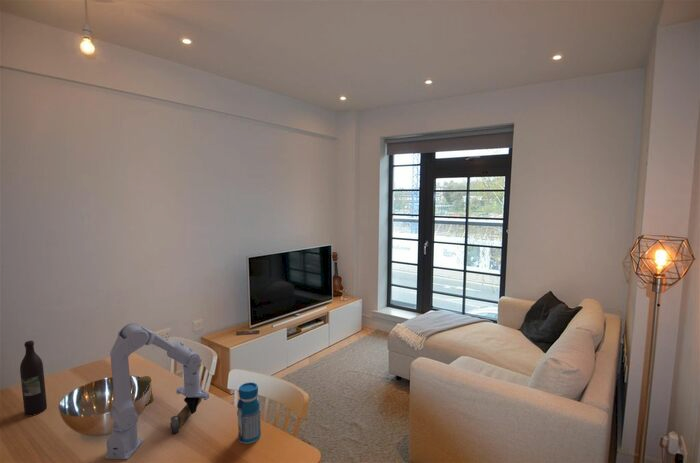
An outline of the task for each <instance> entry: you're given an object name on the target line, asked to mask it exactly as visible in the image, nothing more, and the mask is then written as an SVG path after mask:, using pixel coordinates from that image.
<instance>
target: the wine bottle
mask: <svg viewBox="0 0 700 463" xmlns="http://www.w3.org/2000/svg"><path fill="white" fill-rule="evenodd" d="M34 345H35V341H34V340H27V341H25V342H24V348H25V355H24V357H23V359H22V360H21V363H20V366H19V374H20V383H21V391H22V401H23V403H22V404H23V411H24V412H23V413H24V415H25V416H27V415H32V416H35V415H34V414H36V415H38V414H37V413H39V414H41V413H43V412H45V411H46V410H47V407H48V403H47V393H46V383H45V382H46V381H45V372H44V363H43V360H42V359H41V357H40V356H39V355H38V354H37V352H35V347H34ZM45 409H46V410H45ZM44 410H45V411H44ZM42 411H43V412H42ZM40 412H41V413H40Z"/></svg>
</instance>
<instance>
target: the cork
mask: <svg viewBox="0 0 700 463" xmlns="http://www.w3.org/2000/svg"><path fill="white" fill-rule="evenodd" d="M149 383H150V384H152V377H151V376H148V375H144V376H141V377H140V378H138V379H137V386H138V394H137V396H138V397H140V396H141V395H142V394H143V392H144V391H145V390H146V388H147V386H148V385H149ZM138 397H137V398H138ZM152 403H154V395H153V390H152V389H151V396H150V400H149V402H148V405H150V404H152Z"/></svg>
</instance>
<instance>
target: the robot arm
mask: <svg viewBox="0 0 700 463" xmlns="http://www.w3.org/2000/svg"><path fill="white" fill-rule="evenodd" d="M151 344H153V345H155V346H156V347H158V348H160V349H162V350H164V351H166V356H167V357H168V358H170V359H172V360H174V361H176V362H177V363H179V364H182V365H183V366H182V369H183V370H182V372H183V386H184V387H183V386H179V387H177V388H176V389H175V392H176V395H180V394H181V395H183V396H184V398H183V401H184V403H186V404H187V405H188V407H189V409H190V412H191V415H193V414H194V413H196V412H197V407H198V406H199V404H198V402H199V399H200V398H202V399H203V401H207V400H208V399H210V393H208V392H206V391H204V390H203V389H202V386H201V385H200V384H201V383H200V382H201V381H200V365H201V363H202V358H201V356H200V355H199V354H197V353H196V352H194V351H193V349H192V348H188V347H186V346H185V344H184V343H183V342H178V341H177V342H176V341H175V342H173V343H172V342H170V341H168V340H167V339H166V338H164V337H162V336H161V335H160V334H158V333H156V332H154V331H153V330H151V329H148V328H146V327H145V326H140V325H139V324H137V323H135V322H134V323H127V324H126V325H124V326H123V327H122V328H121V329H120V330H119V331H118V332H117V338H116V340H115V342H114V343H113V346H112V348H111V350H110V354H109V356H110V364H111V365H110V368H111V374H112V375H111V378H112V379H111V380H112V385H113V386H112V388H113V401H112V403H111V404H112V406H111V408H110V412H109V416H110V418H111V419H112V420H113V425H112V431H111V434H110V435H109V437H108V438H107V439H106V453H107V454H106V456H105V457H104V459H107V460H109V459H110V460H111V459H112V460H128V459H129V458H130V457H131V456H132V455H133V454H134V452H135V451H136V450H137V449H138V448H139V447H140V446H141V444H142V443H143V442H144V439H143V438H142V439H141V438H139V436H138V422H139V421H138V420H139V414H138V412H137V411H136V408H135V405H134V402H133V398H132V389H131V377H130V376H131V374H130V366H129V365H130V364H129V362H130V361H129V357H130V356H131V355H132V354H134V352H136V351H138V350H139V349H141V348H143V347H144V346H150V345H151Z"/></svg>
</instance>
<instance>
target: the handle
mask: <svg viewBox="0 0 700 463" xmlns="http://www.w3.org/2000/svg"><path fill="white" fill-rule="evenodd" d="M191 415H192V414H191V412H190V409H189V407H188V405H187V403H186V404H185V405H184V407H183V408H182V409H181V410H180V412H178V414H177V415H176V416H178V429H179V430H180V429H181V428H182V427H183V426H184V424H185V423H186V421H187V420H189V418H190V417H191Z"/></svg>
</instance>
